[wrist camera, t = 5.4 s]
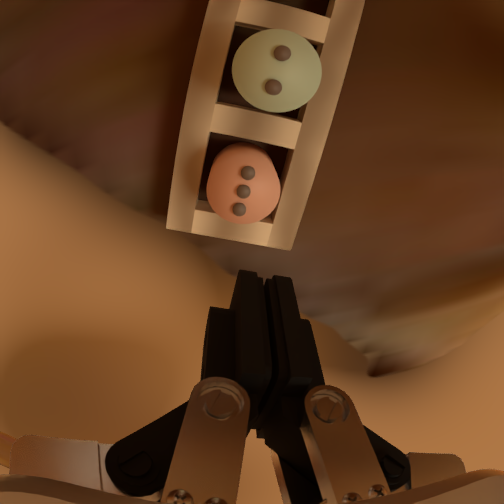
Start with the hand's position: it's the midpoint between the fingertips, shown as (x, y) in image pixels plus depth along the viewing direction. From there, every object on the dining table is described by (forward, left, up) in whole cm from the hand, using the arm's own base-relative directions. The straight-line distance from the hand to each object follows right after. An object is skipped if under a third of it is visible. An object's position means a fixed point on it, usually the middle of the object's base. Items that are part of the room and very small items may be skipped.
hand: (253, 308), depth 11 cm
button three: (0, 0, -16) cm, 16 cm away
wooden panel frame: (0, -8, -16) cm, 18 cm away
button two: (0, -8, -14) cm, 16 cm away
